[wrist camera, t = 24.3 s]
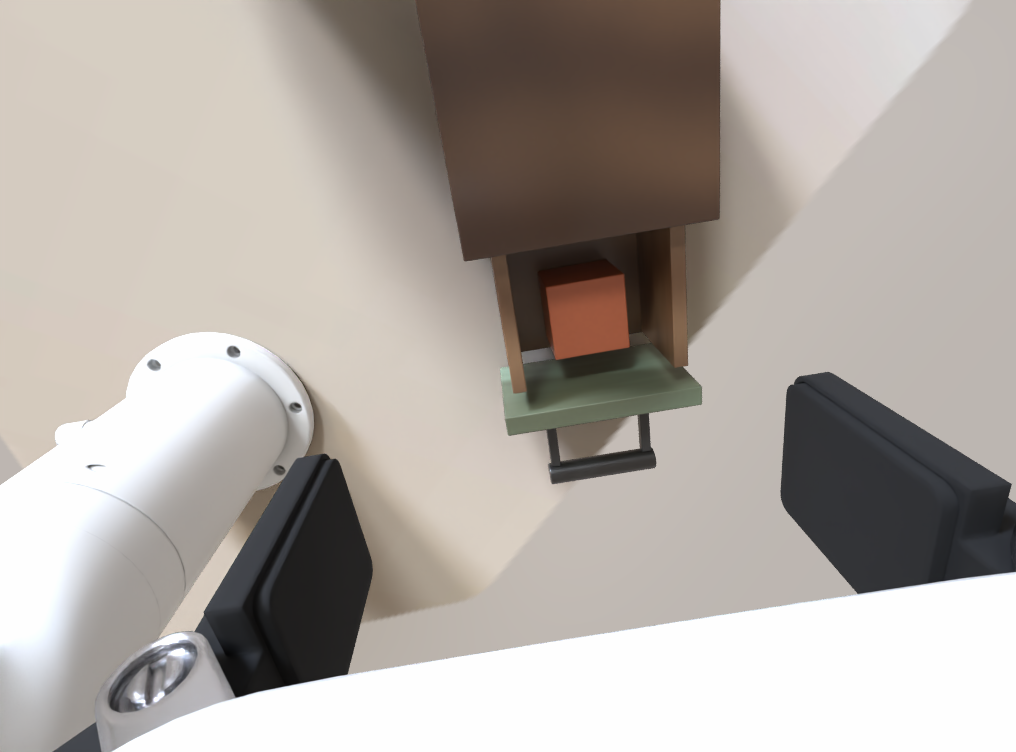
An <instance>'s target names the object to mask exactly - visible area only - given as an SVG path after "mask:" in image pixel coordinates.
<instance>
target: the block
mask: <svg viewBox="0 0 1016 752" xmlns="http://www.w3.org/2000/svg"><path fill="white" fill-rule="evenodd" d="M538 280H539V287H540V294H541V301H542V308H543V315H544V322H545V329H546V336H547V338H548V341H549V344H550V346H551V349H552V352H553V354H554V357H555V359H556V360H559V359H565V358H571V357H577V356H583V355H588V354H594V353H600V352H606V351H611V350H617V349H623V348H629V347H630V341H629V329H628V316H627V303H626V290H625V277H624V273H622V272H621V271H620V270H619V269H618V268H616V267H615V266H614V265H613V264H611V263H610V262H609V261H608V260H607V259H604V260H598V261H593V262H587V263H581V264H575V265H570V266H564V267H558V268H553V269H547V270H541V271H538Z"/></svg>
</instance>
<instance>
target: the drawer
mask: <svg viewBox="0 0 1016 752" xmlns="http://www.w3.org/2000/svg"><path fill="white" fill-rule="evenodd" d="M604 259H607V260H608V261H609V262H610V263H611V264H613V265H614V266H615V267H616V268H618V269H619V270H620V271H621V272H622V273H624V277H625V290H626V303H627V316H628V329H629V334H633V333H639V332H642V333H643V334H644V335H645V336H646V337H647V338H648V339H649V341H650V342H651V343H649V344H643V345H637V346H631V347H629V348H623V349H617V350H611V351H606V352H600V353H594V354H588V355H583V356H577V357H571V358H565V359H559V360H556V359H552V360H546V361H539V362H533V363H527V364H523V361H522V355H521V352H523V351H530V350H536V349H542V348H548V347H551V346H550V344H549V341H548V338H547V336H546V329H545V322H544V315H543V308H542V301H541V294H540V287H539V280H538V271H541V270H547V269H553V268H558V267H564V266H570V265H575V264H581V263H587V262H593V261H598V260H604ZM491 263H492V269H493V275H494V281H495V287H496V293H497V299H498V305H499V311H500V317H501V323H502V329H503V335H504V341H505V347H506V353H507V359H508V365H509V367H503V368H500V373H501V383H502V393H503V403H504V413H505V421H506V427H507V432H508V435H509V436H511V435H517V434H523V433H529V432H535V431H541V430H546V431H547V438H548V445H549V452H550V459H551V463H549V464H548V468H549V474H550V480H551V483H552V484H557V483H564V482H570V481H576V480H582V479H588V478H594V477H601V476H607V475H613V474H620V473H626V472H632V471H637V470H644V469H651V468H655V467H656V457H655V454H654V451H653V449H652V448H651V446H650V427H649V413H652V412H659V411H664V410H670V409H677V408H683V407H689V406H695V405H701V404H702V387H701V385H700V384H699V383H698V382H697V381H696V380H695V379H694V378H693V377H692V376H691V375H690V374H689V373H688V372H687V371H686V370H685V369H684V368H683V366H688V343H687V296H686V249H685V225H682V226H676V227H670V228H664V229H658V230H652V231H646V232H640V233H634V234H628V235H622V236H616V237H610V238H604V239H598V240H592V241H586V242H580V243H574V244H568V245H562V246H556V247H550V248H544V249H538V250H532V251H526V252H520V253H514V254H508V255H502V256H496V257H491ZM634 415H638V426H639V443H640V449H635V450H628V451H623V452H616V453H610V454H603V455H597V456H591V457H585V458H579V459H572V460H566V461H560V455H559V448H558V440H557V433H556V428H560V427H566V426H572V425H578V424H585V423H591V422H597V421H603V420H609V419H615V418H622V417H628V416H634Z"/></svg>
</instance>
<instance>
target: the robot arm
mask: <svg viewBox="0 0 1016 752" xmlns="http://www.w3.org/2000/svg"><path fill="white" fill-rule="evenodd" d="M236 347H237V348H238V349H239V350H240V351H239V350H237V349H236ZM297 403H298V404H300V405H298V404H297ZM313 430H314V417H313V409H312V406H311V402H310V399H309V396H308V394H307V392H306V390H305V388H304V386H303V384H302V382H301V381H300V380H299V379H298V377H297V376H296V375H295V373H294V372H293V371H292V369H291V368H290V367H288V366H287V365H286V364H285V363H284V362H283V361H282V360H281V359H280V358H279V357H277V356H276V355H274V354H273V353H271V352H270V351H268V350H267V349H265V348H264V347H262V346H260V345H258V344H256V343H253V342H251V341H249V340H247V339H244V338H240V337H237V336H233V335H229V334H223V333H213V332H204V333H191V334H188V335H184V336H180V337H176V338H174V339H172V340H170V341H168V342H166V343H164V344H162V345H160V346H159V347H157V348H156V349H154V350H153V351H151V352H150V353H148V354H147V355H146V356H145V357H144V358H143V360H142V361H141V362H140V363H139V364H138V365H137V366H136V368H135V370H134V372H133V374H132V376H131V377H130V380H129V384H128V388H127V392H126V399H125V400H123V401H122V402H120V403H119V404H118V405H116V406H115V407H113V408H112V409H110V410H109V411H107V412H106V413H105V414H103V415H102V416H100V417H99V418H97V419H96V420H87V421H81V422H74V423H68V424H63V425H61V426H60V427H58V429H57V431H56V433H55V441H56V443H57V447H55V448H54V449H53V450H51V451H50V452H48V453H47V454H45V455H44V456H42V457H41V458H40V459H38V460H37V461H35V462H34V463H32V464H31V465H29V466H28V467H27V468H25V469H24V470H22V471H21V472H19V473H18V474H16V475H15V476H14V477H12V478H11V479H9V480H8V481H6V482H5V483H3V484H2V485H1V486H0V752H1016V503H1015V502H1013V501H1012V500H1010V499H1009V498H1008V496H1009V492H1010V489H1011V485H1012V484H1011V483H1009V482H1007V481H1006V480H1004V479H1002V478H1001V477H999V476H997V475H996V474H994V473H993V472H991V471H989V470H988V469H986V468H985V467H983V466H981V465H980V464H978V463H977V462H975V461H973V460H972V459H970V458H969V457H967V456H965V455H964V454H962V453H960V452H959V451H957V450H956V449H954V448H952V447H951V446H949V445H947V444H946V443H944V442H943V441H941V440H939V439H938V438H936V437H934V436H933V435H931V434H930V433H928V432H926V431H925V430H923V429H921V428H920V427H918V426H917V425H915V424H914V423H912V422H910V421H909V420H907V419H905V418H904V417H902V416H900V415H899V414H897V413H896V412H894V411H893V410H891V409H889V408H888V407H886V406H884V405H883V404H881V403H880V402H878V401H876V400H874V399H873V398H871V397H870V396H868V395H867V394H865V393H863V392H861V391H860V390H858V389H857V388H855V387H854V386H852V385H850V384H849V383H847V382H846V381H844V380H842V379H841V378H839V377H837V376H836V375H834V374H832V373H830V372H825V373H818V374H812V375H807V376H800V377H798V378H797V379H796V380H795V382H794V385H790V386H789V387H788V389H787V395H786V412H785V428H784V445H783V461H782V478H781V500H782V503H783V506H784V508H785V509H786V511H787V512H788V513H789V515H790V516H791V517H792V518H793V519H794V520H795V522H796V523H797V524H798V525H799V526H800V527H801V528H802V530H803V531H804V532H805V533H806V534H807V535H808V537H809V538H810V539H811V540H812V541H813V542H814V543H815V545H816V546H817V547H818V548H819V549H820V550H821V552H822V553H823V554H824V555H825V556H826V557H827V558H828V560H829V561H830V562H831V563H832V564H833V565H834V567H835V568H836V569H837V570H838V571H839V573H840V574H841V575H842V576H843V577H844V578H845V579H846V581H847V582H848V583H849V584H850V585H851V586H852V588H853V589H854V590H855V591H856V592H857V593H858V594H857V595H849V596H843V597H836V598H829V599H823V600H816V601H810V602H803V603H796V604H790V605H784V606H777V607H770V608H764V609H757V610H752V611H744V612H738V613H731V614H725V615H718V616H712V617H706V618H699V619H693V620H687V621H680V622H674V623H668V624H661V625H654V626H648V627H642V628H635V629H629V630H622V631H617V632H610V633H603V634H597V635H591V636H585V637H578V638H572V639H566V640H559V641H553V642H546V643H540V644H534V645H528V646H521V647H515V648H509V649H503V650H497V651H491V652H484V653H478V654H472V655H466V656H460V657H453V658H447V659H441V660H435V661H429V662H423V663H416V664H411V665H404V666H398V667H392V668H386V669H380V670H374V671H367V672H361V673H355V674H349V675H347V674H348V671H349V667H350V663H351V659H352V655H353V651H354V647H355V643H356V638H357V635H358V631H359V627H360V623H361V619H362V615H363V611H364V607H365V603H366V599H367V595H368V591H369V587H370V583H371V579H372V572H373V568H372V560H371V557H370V554H369V551H368V547H367V544H366V541H365V538H364V535H363V532H362V529H361V526H360V523H359V520H358V517H357V514H356V511H355V508H354V505H353V502H352V499H351V496H350V493H349V490H348V487H347V484H346V481H345V478H344V475H343V472H342V469H341V466H340V463H339V462H338V460H337V459H331V460H330V458H329V456H328V455H327V454H319V455H313V456H307V457H304V456H305V455H306V453H307V451H308V448H309V446H310V443H311V441H312V436H313ZM282 480H283V481H282ZM280 481H282V483H281V484H280V486H279V488H278V489H277V491H276V493H275V494H274V496H273V498H272V499H271V501H270V503H269V504H268V506H267V508H266V509H265V511H264V513H263V514H262V516H261V518H260V519H259V521H258V523H257V524H256V526H255V528H254V529H253V531H252V533H251V534H250V536H249V538H248V539H247V541H246V543H245V544H244V546H243V548H242V549H241V551H240V553H239V554H238V556H237V558H236V559H235V561H234V563H233V564H232V566H231V568H230V569H229V571H228V573H227V574H226V576H225V578H224V579H223V581H222V582H221V584H220V586H219V587H218V589H217V591H216V592H215V594H214V596H213V597H212V599H211V601H210V602H209V604H208V606H207V607H206V609H205V611H204V612H203V613H204V616H203V618H202V620H201V622H200V623H199V625H198V627H197V628H196V630H195V632H193V631H185V632H176V633H173V634H170V635H167V636H164V637H161V638H159V636H160V635H161V633H162V632H163V630H164V629H165V627H166V626H167V624H168V623H169V621H170V620H171V618H172V617H173V615H174V614H175V612H176V611H177V609H178V607H179V606H180V604H181V603H182V601H183V600H184V598H185V597H186V595H187V594H188V592H189V591H190V589H191V588H192V586H193V585H194V583H195V582H196V580H197V579H198V577H199V576H200V574H201V573H202V571H203V570H204V568H205V567H206V565H207V564H208V562H209V561H210V559H211V557H212V556H213V554H214V553H215V551H216V550H217V548H218V547H219V545H220V544H221V542H222V541H223V539H224V538H225V536H226V535H227V533H228V532H229V530H230V529H231V527H232V526H233V524H234V523H235V521H236V520H237V518H238V517H239V515H240V514H241V512H242V511H243V509H244V508H245V506H246V505H247V503H248V502H249V500H250V499H251V497H252V496H253V494H254V493H255V491H258V490H262V489H266V488H268V487H270V486H272V485H275V484H277V483H279V482H280ZM158 638H159V639H158Z"/></svg>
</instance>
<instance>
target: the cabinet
mask: <svg viewBox="0 0 1016 752" xmlns="http://www.w3.org/2000/svg"><path fill="white" fill-rule="evenodd" d="M415 3H416V8H417V14H418V19H419V24H420V30H421V35H422V40H423V46H424V51H425V56H426V62H427V67H428V72H429V78H430V83H431V88H432V93H433V99H434V104H435V109H436V115H437V120H438V125H439V131H440V136H441V141H442V147H443V152H444V157H445V163H446V168H447V173H448V179H449V184H450V189H451V195H452V200H453V205H454V211H455V216H456V221H457V227H458V232H459V237H460V243H461V248H462V253H463V259H464V261H465V262H466V261H472V260H478V259H484V258H490V257H496V256H502V255H508V254H514V253H520V252H526V251H532V250H538V249H544V248H550V247H556V246H562V245H568V244H574V243H580V242H586V241H592V240H598V239H604V238H610V237H616V236H622V235H628V234H634V233H640V232H646V231H652V230H658V229H664V228H670V227H676V226H682V225H688V224H694V223H700V222H706V221H712V220H718V219H719V218H720V0H415Z"/></svg>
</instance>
